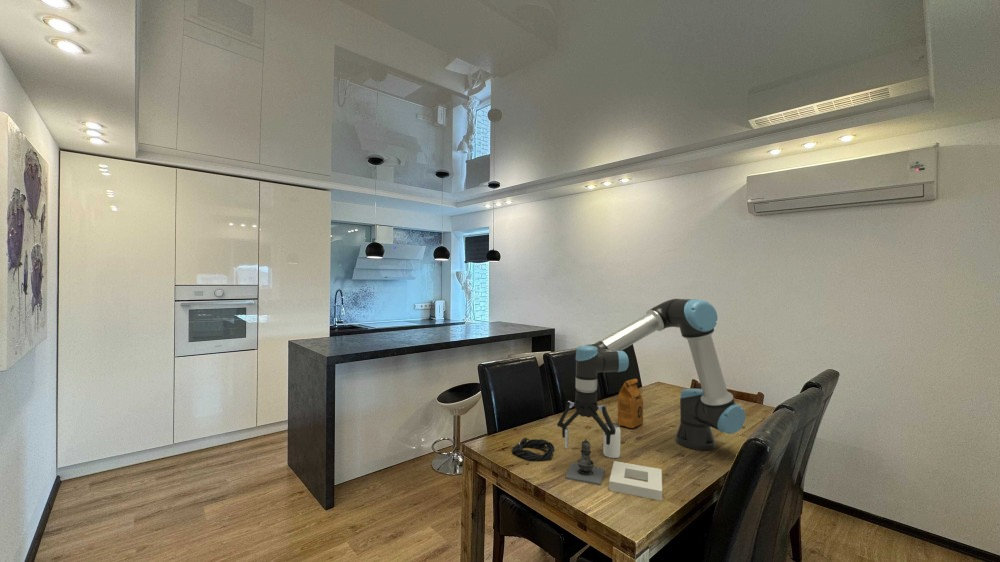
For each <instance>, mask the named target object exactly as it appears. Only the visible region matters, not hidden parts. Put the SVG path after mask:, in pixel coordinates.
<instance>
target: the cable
mask: <svg viewBox="0 0 1000 562" xmlns="http://www.w3.org/2000/svg"><path fill="white" fill-rule="evenodd" d="M529 446H530V447H529ZM526 447H529V448H532V449H536V450H539V449H540V450H546V452H544V453H543V454H538V453H536V452H533V451H531V450H528V449H523V448H526ZM511 449H512V451H511V452H512V453H513V454H515V455H517V456H520V457H522V459H525V460H528V461H529V460H530V461H549V460H551V458H552V457H553V454H554V453H555V446H554V444H553V443H552V442H550V441H548V440H546V439H541V438H540V439H538V438H537V439H536V438H535V439H529V438H527V437H524V438H523V439H521V441H520V442H519V441H518V443H517V444H516V445H514V446H512V448H511Z"/></svg>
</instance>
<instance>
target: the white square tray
mask: <svg viewBox="0 0 1000 562" xmlns="http://www.w3.org/2000/svg"><path fill="white" fill-rule="evenodd" d="M662 473H663V472H662V468H657V467H651V466H647V465H646V466H645V465H639V464H633V463H630V462H629V463H628V462H622V461H617V460H613V464H612V467H611V471H610V476H609V480H608V482H609V483H608V484H609V485H608V490H609V491H612V492H616V493H619V494H620V493H622V494H626V495H631V496H635V497H641V498H647V499H651V500H654V501H655V500H656V501H661V502H663V478H662V477H663V476H662Z"/></svg>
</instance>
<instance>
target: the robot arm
mask: <svg viewBox="0 0 1000 562" xmlns="http://www.w3.org/2000/svg"><path fill="white" fill-rule="evenodd" d="M717 321H718V313H717V310H716V309H715V307H714V306H713V304H711V303H710V302H709V301H706V300H702V299H698V298H693V299H689V298H688V299H687V298H673V299H668V300H666V301H664V302H662V303H659V304H657V305H656V306H653V307H652V308H650V309H648V310H647V311H646V312H645V315H642V316H641V317H639V318H638V319H635V320H634V321H632V322H630V323H629V324H627V325H625V326H623V327H621V328H620V329H618V330H616V331H615V332H613V333H611V334H609V335H608V336H605V337H604V338H602V339H601V340H599V341H596V342H595V343H594V344H591V343H590V344H589V343H588V344H583V345H579V346H577V347H576V351H575V402H572V401H571V400H568V401H567V402H566V405H565V408H564V411H563V413H562V414H561V417H560V418H559V420H558V422H557V424H556V425H557V427H560V428H561V431H562V433H561V436H562V438H564V448H565V449H568V447H569V439H570V437H569V436H570V435H569V433H570V429H569V427H568V426H570V424H571V423H572V422H573V421H574V420H575V419H577V417H578V416H580V417H586V418H593V420H594V421H595V422H596V423H597V424H598V426H599V427H600V428H601V430H602V431H604V432H605V434H604V454H603V456H605V455H606V453H607V444H608V445H609V444H610V435H612V434H613V435H614V434H615V432H616V430H615V428H614V425H613V423H614V422H613V421H612V419H611V417H610V415H609V412H608V410H607V409H608V408H607V405H606V404H603V405H598V391H597V389H598V374H600V373H620V372H626V371H627V369H628V368H629V366H630V361H629V357H628V354H627V353H626V352H625V351H624V350H625V349H626V348H629V347H630V346H632V345H633V344H635V343H637V342H639V341H641V340H642V339H644V338H645V337H648V336H649V335H651V334H653V333H654V332H657V331H659V332H661V331H663V330H665V329H667V328H677V329H678V328H679V330H680V334H681V337H682V338H684V339H686V340H687V344H688V347H689V350H690V353H691V357H692V360H693V363H694V364H693V365H694V367H695V370H696V373H697V377H698V380H699V384H700V387H701V388H683V389H682V390H681V392H680V397H679V404H680V405H679V407H680V408H679V409H680V413H679V415H680V416H679V417H680V423H679V426H678V428H677V431H676V433H675V441H676V443H678V444H679V445H681V446H682V447H685V448H687V449H688V448H689V449H692V450H698V451H711V450H714V449H715V448H716V440H715V436H714V434H713V431H712V428H713V429H715V430H717V431H719V432H722V433H725V434H729V435H732V434H735V433H737V432H739V431H740V430H741V429H742V428H743V426H744V425H745V423H746V411H745V409H744V408H743V407H742V406H741V405H739V404H737V403H736V400H735V397H734V395H733V393H731V392H730V391H728V388H727V385H726V382H725V379H724V375H723V372H722V371H723V370H722V368H721V365H720V360H719V358H718V354H717V351H716V348H715V344H714V340H713V336H712V335H713V334H714V332H715V328H716V326H717ZM573 407H574V408H575V410H576V411H575V412H574V413H573V414H572V415H571V416H570V417H569V418H568V419H567V420H566V421H565V418H566V416H567V415H568V413H569V411H570V409H572V408H573ZM598 410H599V411H600V413H602V415H603V418H604V420H605V421H606V422H605V423H607V424H608V427H609V429H610V430H609V429H608V427H607V426H606V425H605V423H604V421H603V420H602V418H601V416H599V414H598V412H597V411H598ZM564 421H565V422H564Z"/></svg>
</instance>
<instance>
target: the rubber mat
mask: <svg viewBox="0 0 1000 562" xmlns="http://www.w3.org/2000/svg"><path fill="white" fill-rule="evenodd" d="M579 469H580V468H579V465H578V463H577V462H571V464H570V466H569V467H568V469H567V472H566V473H565V477H564V479H567V480H570V481H576V482H581V483H586V484H590V485H597V486H602V481H603V478H604V475H605V472H606V470H605V469H606V468H605V467H599V466H594V465H593V468H592V469H591V470H592V471H593V475H591V476H583V475H581V474H579V473H578V470H579Z"/></svg>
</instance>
